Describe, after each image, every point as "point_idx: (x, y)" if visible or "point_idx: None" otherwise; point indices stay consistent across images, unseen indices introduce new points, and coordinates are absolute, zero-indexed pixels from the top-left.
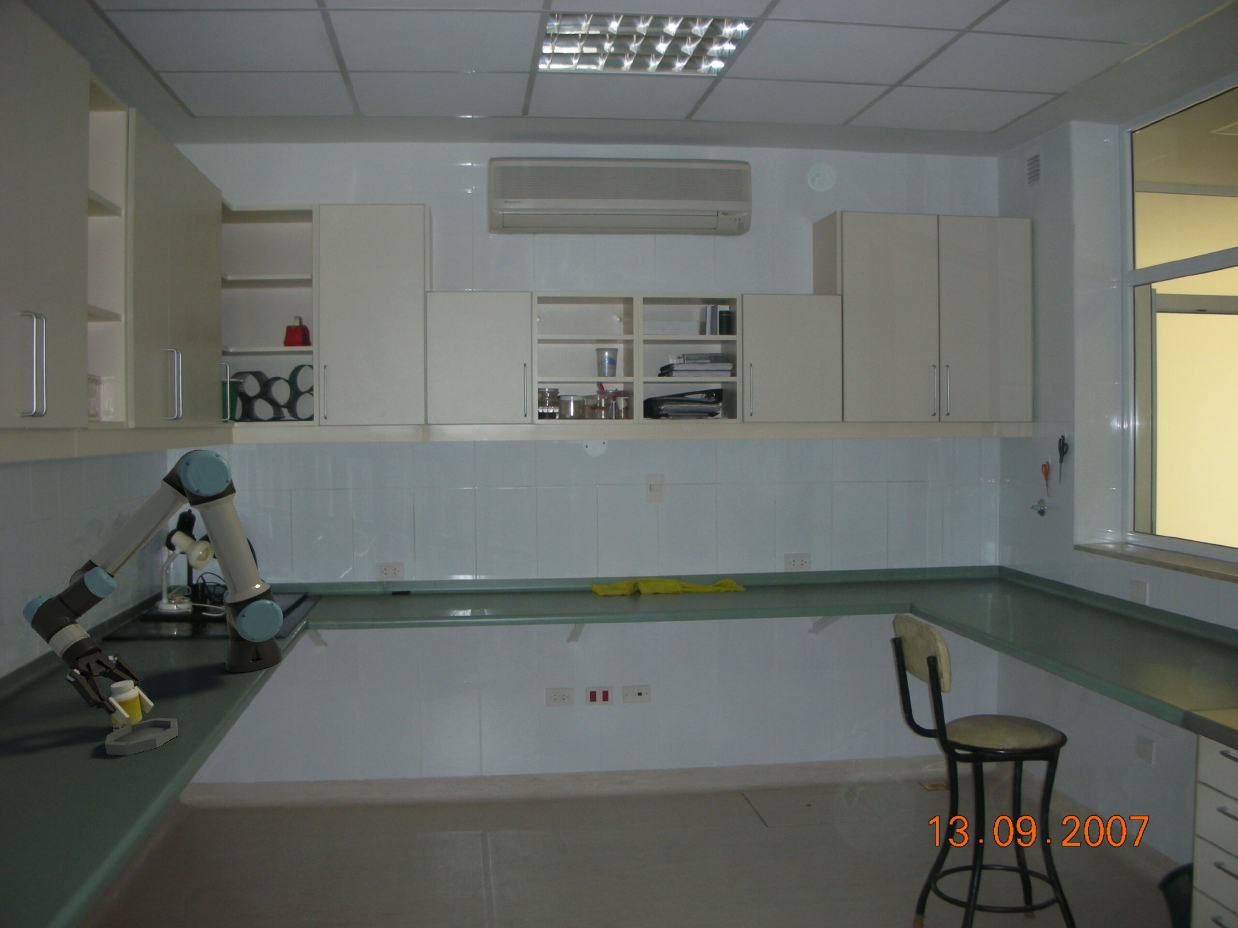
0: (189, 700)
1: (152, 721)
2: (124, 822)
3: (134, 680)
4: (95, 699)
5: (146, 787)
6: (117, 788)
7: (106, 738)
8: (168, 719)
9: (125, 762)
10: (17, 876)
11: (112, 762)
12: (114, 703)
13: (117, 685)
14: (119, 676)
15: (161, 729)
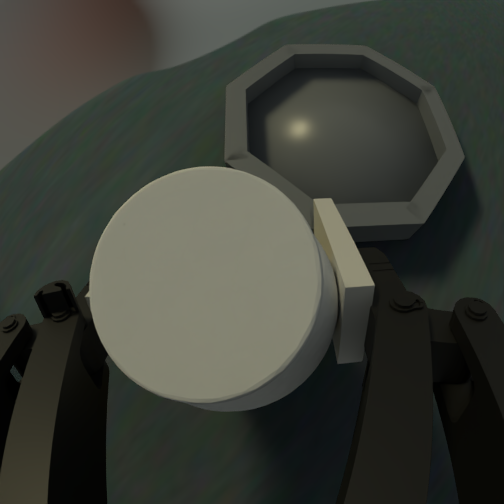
0: (16, 293)
1: (253, 158)
2: (493, 5)
3: (40, 338)
4: (483, 302)
5: (453, 12)
6: (484, 43)
7: (441, 195)
8: (234, 105)
9: (443, 87)
10: None
11: (461, 117)
12: (352, 251)
13: (256, 276)
14: (61, 447)
15: (276, 115)
